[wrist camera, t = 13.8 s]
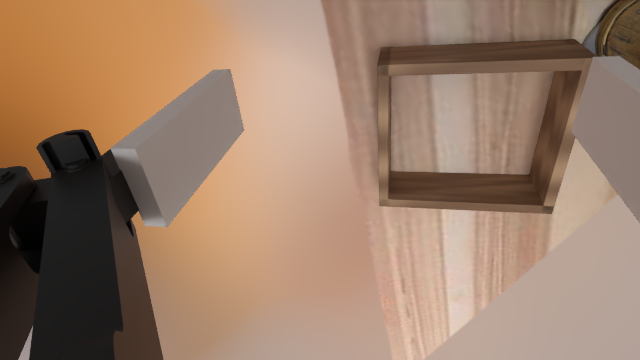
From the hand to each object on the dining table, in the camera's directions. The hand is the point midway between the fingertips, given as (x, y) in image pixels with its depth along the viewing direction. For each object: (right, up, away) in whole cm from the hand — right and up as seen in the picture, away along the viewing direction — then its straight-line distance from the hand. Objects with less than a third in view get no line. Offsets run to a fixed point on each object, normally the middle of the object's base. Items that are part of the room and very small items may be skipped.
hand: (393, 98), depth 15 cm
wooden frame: (+16, +5, +36) cm, 39 cm away
